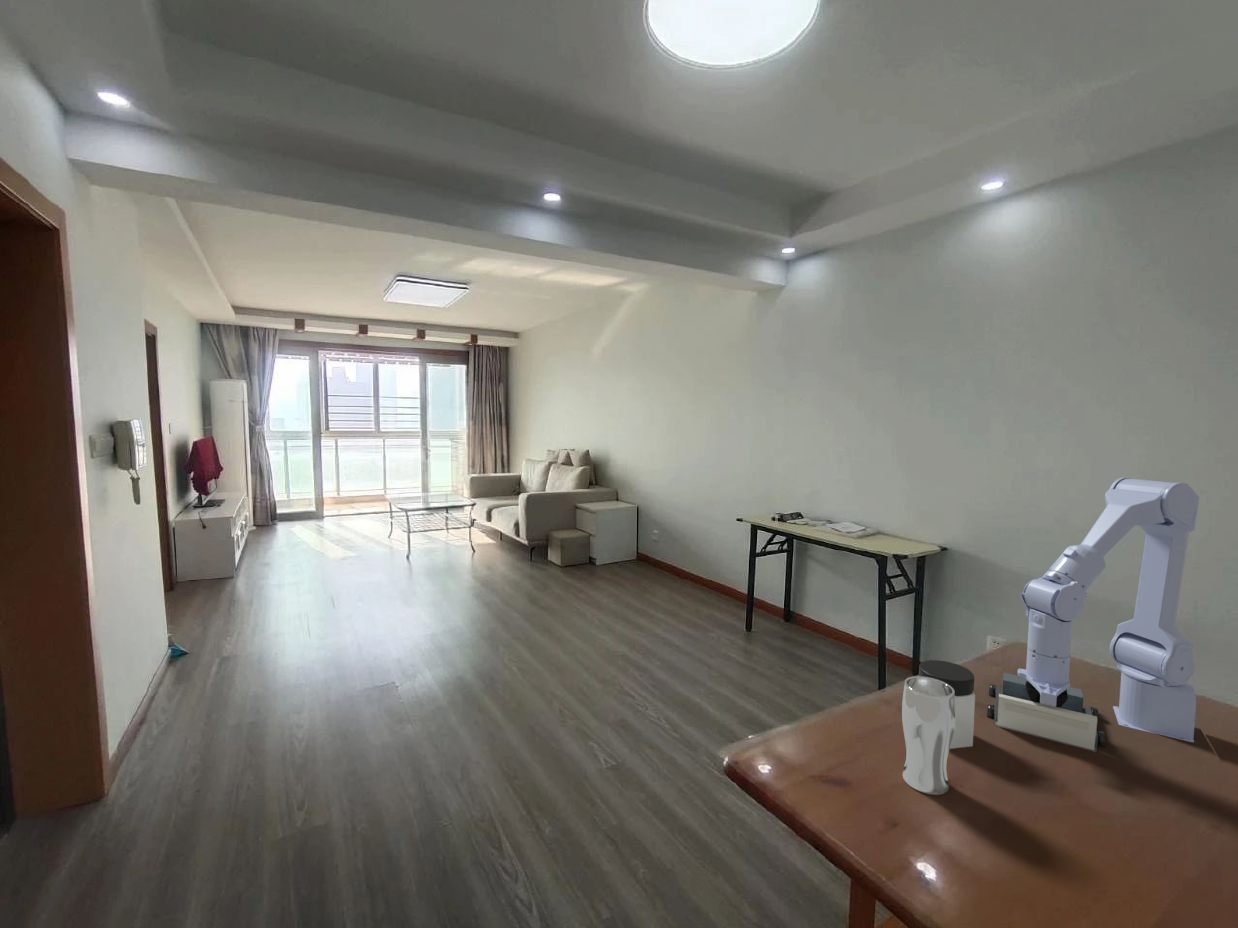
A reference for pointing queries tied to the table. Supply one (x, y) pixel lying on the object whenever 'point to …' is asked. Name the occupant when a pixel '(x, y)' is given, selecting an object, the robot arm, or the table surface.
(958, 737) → the jar
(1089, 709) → the grey piece
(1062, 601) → the robot arm
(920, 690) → the beer glass
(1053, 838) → the table surface
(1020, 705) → the panel
